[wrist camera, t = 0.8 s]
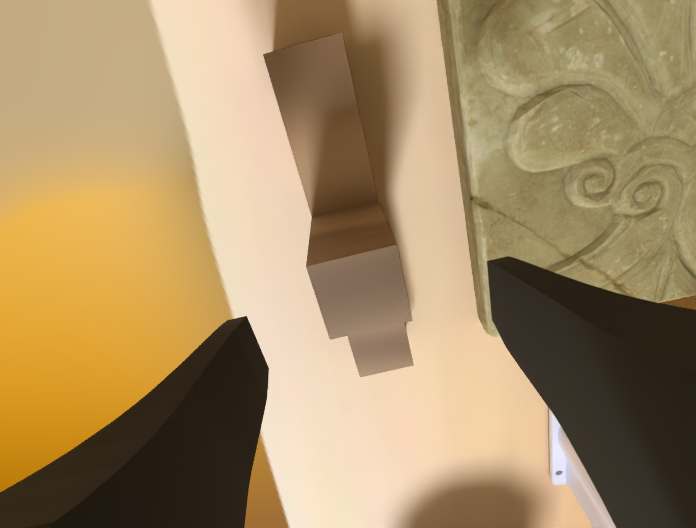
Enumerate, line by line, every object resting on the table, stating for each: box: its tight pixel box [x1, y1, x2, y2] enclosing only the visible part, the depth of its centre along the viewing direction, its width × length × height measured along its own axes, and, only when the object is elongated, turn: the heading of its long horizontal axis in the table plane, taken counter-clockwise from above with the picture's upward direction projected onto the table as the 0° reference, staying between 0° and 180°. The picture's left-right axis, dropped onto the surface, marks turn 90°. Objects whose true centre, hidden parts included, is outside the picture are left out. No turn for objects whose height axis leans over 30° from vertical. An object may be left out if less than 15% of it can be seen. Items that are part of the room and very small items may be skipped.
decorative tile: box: [437, 0, 696, 338], centre depth 17 cm, size 19×20×4 cm
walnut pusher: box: [263, 32, 413, 377], centre depth 16 cm, size 16×3×8 cm, turn 14°
